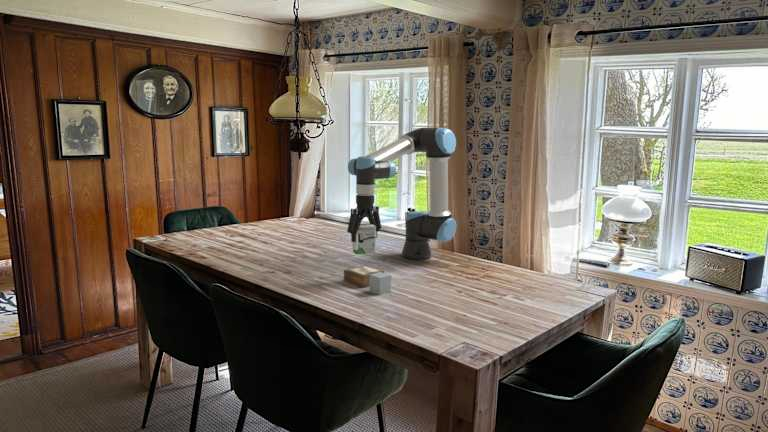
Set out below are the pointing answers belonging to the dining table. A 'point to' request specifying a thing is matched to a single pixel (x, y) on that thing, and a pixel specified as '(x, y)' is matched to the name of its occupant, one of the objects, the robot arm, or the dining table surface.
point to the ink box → (366, 239)
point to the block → (380, 283)
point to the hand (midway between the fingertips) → (364, 247)
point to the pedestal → (360, 275)
